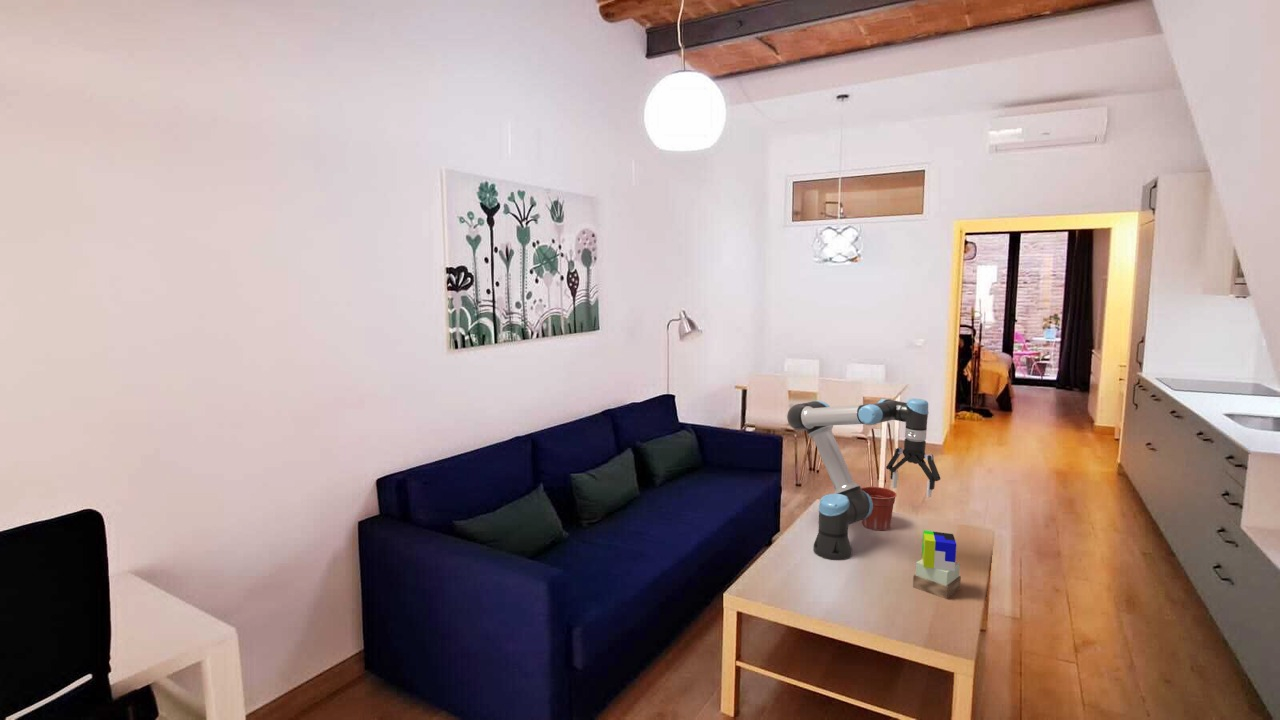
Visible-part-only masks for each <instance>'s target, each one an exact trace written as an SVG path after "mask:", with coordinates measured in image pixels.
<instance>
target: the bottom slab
mask: <svg viewBox="0 0 1280 720" xmlns="http://www.w3.org/2000/svg"><path fill="white" fill-rule="evenodd" d="M961 578H962V576H961V575H959V577H958V578H956V579H955V580H954V581H953V582H951V583H950V584H949V585H947V586H945V585H942V584H939V583H936V582H933V581H930V580H927V579H924V578H921V577H918V576H916V573H914V575H913V579H912V588H914V589H917V590H919V591H921V592H925V593H928V594H931V595H933V596H936V597H939V598H942V599H945V600H948V599H949V598H950V597H951V596H952V595H954V594H955V593H957V591H959V590H960V589H961Z"/></svg>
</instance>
